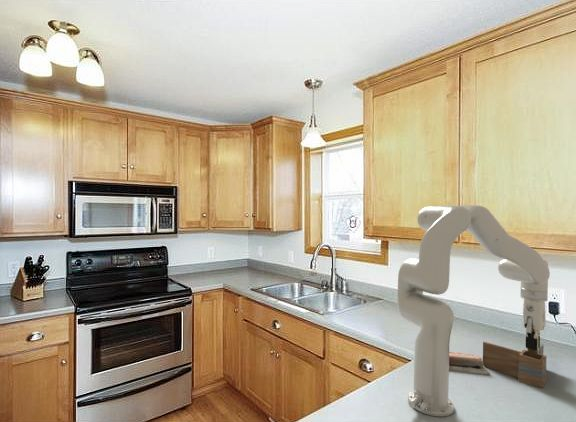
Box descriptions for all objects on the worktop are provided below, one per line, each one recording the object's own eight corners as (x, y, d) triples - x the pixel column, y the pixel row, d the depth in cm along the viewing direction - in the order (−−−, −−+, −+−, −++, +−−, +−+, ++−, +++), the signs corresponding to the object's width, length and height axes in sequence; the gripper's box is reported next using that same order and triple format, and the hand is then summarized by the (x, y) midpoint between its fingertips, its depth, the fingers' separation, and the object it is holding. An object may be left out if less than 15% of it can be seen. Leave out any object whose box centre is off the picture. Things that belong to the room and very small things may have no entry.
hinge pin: (541, 357, 111) (542, 327, 111) (520, 351, 115) (520, 323, 115) (545, 352, 115) (545, 323, 115) (524, 347, 120) (524, 319, 120)
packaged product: (435, 356, 123) (430, 346, 133) (435, 369, 123) (430, 358, 133) (489, 362, 119) (480, 351, 129) (489, 376, 119) (480, 364, 129)
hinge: (541, 388, 111) (542, 361, 111) (479, 368, 124) (480, 344, 124) (552, 371, 123) (553, 346, 123) (495, 354, 137) (496, 332, 137)
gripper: (542, 300, 107) (540, 358, 107) (552, 293, 118) (551, 345, 118) (514, 295, 113) (513, 350, 112) (526, 289, 124) (525, 338, 124)
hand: (532, 347), depth 115 cm, fingers closed on hinge pin, 3 cm apart
